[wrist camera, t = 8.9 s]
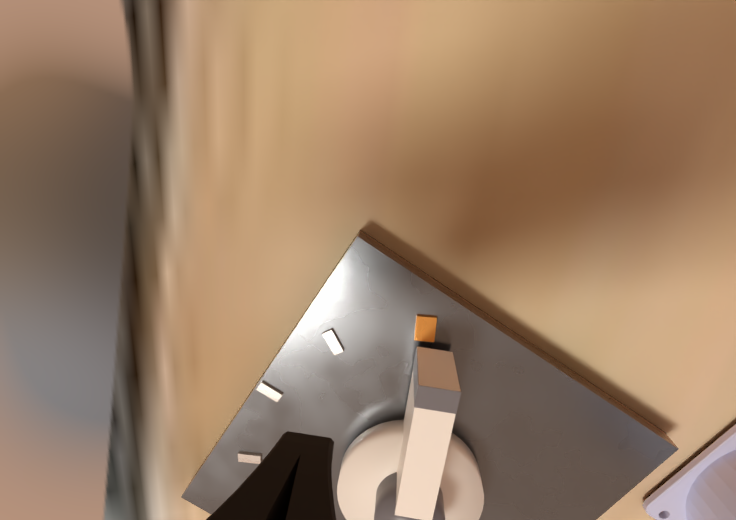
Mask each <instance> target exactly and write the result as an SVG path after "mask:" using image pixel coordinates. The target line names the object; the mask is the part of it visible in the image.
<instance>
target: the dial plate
mask: <svg viewBox="0 0 736 520" xmlns="http://www.w3.org/2000/svg"><path fill="white" fill-rule="evenodd" d="M417 346H418V347H424V348H431V349H437V350H444V351H450V352H453V354H454V359H455V364H456V369H457V374H458V379H459V383H460V388H461V396H460V400H459V405H458V409H457V414H456V415H455V420H454V424H453V429H452V433H453V434H455V435H456V436H457V437H459V438H460V439H461V440H462V441H463V442H464V443H465V444H466V445H467V446H468V447H469V449H470V450H471V452H472V453H473V455H474V457H475V459H476V461H477V464H478V467H479V472H480V476H481V481H482V486H483V492H484V505H483V511H482V513H481V516H480V518H479V520H596V519H598V518H599V517H600V516H601V515H602V514H603V513H605V512H606V511H607V510H608V509H609V508H610V507H612V506H613V505H614V504H615V503H616V502H617V501H619V500H620V499H621V498H622V497H623V496H624V495H625V494H627V493H628V492H629V491H630V490H631V489H632V488H634V487H635V486H636V485H637V484H638V483H639V482H641V481H642V480H643V479H644V478H645V477H646V476H648V475H649V474H650V473H651V472H652V471H653V470H655V469H656V468H657V467H658V466H659V465H660V464H662V463H663V462H664V461H665V460H666V459H667V458H669V457H670V456H671V455H672V454H673V453H674V452H676V451H677V450H678V448H677V446H676V445H675V444H674V443H673V442H672V440H671V439H670V438H669V437H668V436H667V435H666V433H665V432H664V431H662V430H661V429H659V428H658V427H656V426H655V425H653V424H652V423H650V422H649V421H647V420H646V419H644V418H643V417H641V416H640V415H638V414H637V413H635V412H634V411H632V410H631V409H629V408H628V407H626V406H625V405H623V404H622V403H620V402H619V401H617V400H616V399H614V398H613V397H611V396H610V395H608V394H607V393H605V392H604V391H602V390H601V389H599V388H598V387H596V386H595V385H593V384H592V383H590V382H589V381H587V380H586V379H584V378H583V377H581V376H580V375H578V374H577V373H575V372H574V371H572V370H571V369H569V368H567V367H566V366H564V365H563V364H561V363H560V362H558V361H557V360H555V359H554V358H552V357H551V356H549V355H548V354H546V353H545V352H543V351H542V350H540V349H539V348H537V347H536V346H534V345H533V344H531V343H530V342H528V341H527V340H525V339H524V338H522V337H521V336H519V335H518V334H516V333H515V332H513V331H512V330H510V329H509V328H507V327H506V326H504V325H503V324H501V323H500V322H498V321H497V320H495V319H494V318H492V317H491V316H489V315H488V314H486V313H485V312H483V311H482V310H480V309H479V308H477V307H476V306H474V305H473V304H471V303H470V302H468V301H467V300H465V299H464V298H462V297H461V296H459V295H458V294H456V293H454V292H453V291H451V290H450V289H448V288H447V287H445V286H444V285H442V284H441V283H439V282H438V281H436V280H435V279H433V278H432V277H430V276H429V275H427V274H426V273H424V272H423V271H421V270H420V269H418V268H417V267H415V266H414V265H412V264H411V263H409V262H408V261H406V260H405V259H403V258H402V257H400V256H399V255H397V254H396V253H394V252H393V251H391V250H390V249H388V248H387V247H385V246H384V245H382V244H381V243H379V242H378V241H376V240H375V239H373V238H372V237H370V236H369V235H367V234H366V233H364V232H363V231H361V230H360V231H359V233H358V234H357V236H356V237H355V239H354V240H353V242H352V243H351V244H350V246H349V247H348V249H347V250H346V252H345V253H344V255H343V256H342V258H341V259H340V261H339V262H338V264H337V265H336V267H335V268H334V270H333V271H332V273H331V274H330V276H329V277H328V279H327V280H326V282H325V283H324V285H323V286H322V287H321V289H320V290H319V292H318V293H317V295H316V296H315V298H314V299H313V301H312V302H311V304H310V305H309V307H308V308H307V310H306V311H305V313H304V314H303V316H302V317H301V319H300V320H299V322H298V323H297V325H296V326H295V328H294V329H293V330H292V332H291V333H290V335H289V336H288V338H287V339H286V341H285V342H284V344H283V345H282V347H281V348H280V350H279V351H278V353H277V354H276V356H275V357H274V359H273V360H272V362H271V363H270V365H269V366H268V368H267V369H266V371H265V372H264V373H263V375H262V376H261V378H260V379H259V381H258V382H257V384H256V385H255V387H254V388H253V390H252V391H251V393H250V394H249V396H248V397H247V399H246V400H245V402H244V403H243V405H242V406H241V408H240V409H239V411H238V412H237V413H236V415H235V416H234V418H233V419H232V421H231V422H230V424H229V425H228V427H227V428H226V430H225V431H224V433H223V434H222V436H221V437H220V439H219V440H218V442H217V443H216V445H215V446H214V448H213V449H212V451H211V452H210V454H209V455H208V456H207V458H206V459H205V461H204V462H203V464H202V465H201V467H200V468H199V470H198V471H197V473H196V474H195V476H194V477H193V479H192V480H191V482H190V483H189V485H188V487H187V488H186V490H185V492H184V493H183V495H182V498H184V499H185V500H187V501H189V502H191V503H192V504H194V505H196V506H198V507H199V508H201V509H203V510H205V511H206V512H208V513H210V514H213V513H214V512H215V511H216V510H217V509H218V508H219V507H220V506H221V505H222V504H223V503H224V502H225V501H226V500H227V499H228V498H229V497H230V496H231V495H232V494H233V493H234V492H235V491H236V490H237V489H238V488H239V487H240V485H241V484H242V483H243V482H244V481H245V480H246V479H247V478H248V477H249V475H250V474H251V473H252V472H253V471H254V470H255V469H256V468H257V467H258V465H259V464H260V463H261V462H262V461H263V459H264V458H265V457H266V456H267V455H268V453H269V452H270V451H271V450H272V448H273V447H274V446H275V444H276V443H277V442H278V441H279V439H280V438H281V436H282V435H283V434H284V433H285V432H287V431H290V432H296V433H303V434H309V435H316V436H322V437H329V438H331V439H332V440H333V441H334V449H333V458H332V468H331V469H332V489H333V498H334V507H335V514H336V520H346V519H345V517H344V515H343V513H342V511H341V509H340V506H339V503H338V497H337V485H338V479H339V474H340V469H341V464H342V460H343V457H344V454H345V452H346V450H347V449H348V447H349V446H350V444H351V443H352V442H353V441H354V440H355V439H356V438H357V437H358V436H359V435H360V434H362V433H363V432H364V431H366V430H368V429H369V428H371V427H373V426H376V425H378V424H381V423H384V422H389V421H394V420H404V417H405V411H406V405H407V400H408V394H409V389H410V383H411V377H412V372H413V363H414V358H415V352H416V347H417Z"/></svg>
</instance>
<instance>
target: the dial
mask: <svg viewBox="0 0 736 520" xmlns="http://www.w3.org/2000/svg"><path fill="white" fill-rule="evenodd" d="M460 396H461V388H460V383H459V379H458V374H457V369H456V364H455V359H454V354H453V352H450V351H444V350H437V349H431V348H424V347H418V346H417V347H416V352H415V358H414V363H413V372H412V377H411V383H410V389H409V394H408V400H407V405H406V411H405V417H404V420H394V421H389V422H384V423H381V424H378V425H376V426H373V427H371V428H369V429H368V430H366V431H364V432H363V433H362V434H360V435H359V436H358V437H357V438H356V439H355V440H354V441H353V442H352V443H351V444H350V446H349V447H348V449H347V450H346V452H345V454H344V457H343V460H342V464H341V469H340V474H339V479H338V485H337V497H338V503H339V506H340V509H341V511H342V513H343V515H344V517H345V519H346V520H479V518H480V516H481V513H482V511H483V505H484V492H483V486H482V481H481V476H480V472H479V467H478V464H477V461H476V459H475V457H474V455H473V453H472V452H471V450H470V449H469V447H468V446H467V445H466V444H465V443H464V442H463V441H462V440H461V439H460V438H459V437H457V436H456V435H455V434H453V433H452V429H453V424H454V420H455V415H456V414H457V409H458V405H459V400H460Z"/></svg>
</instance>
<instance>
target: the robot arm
mask: <svg viewBox="0 0 736 520" xmlns="http://www.w3.org/2000/svg"><path fill="white" fill-rule="evenodd" d="M333 449H334V441H333V440H332V439H331V438H329V437H322V436H316V435H309V434H303V433H296V432H290V431H287V432H285V433H284V434H283V435H282V436H281V438H280V439H279V441H278V442H277V443H276V444H275V446H274V447H273V448H272V450H271V451H270V452H269V453H268V455H267V456H266V457H265V458H264V459H263V461H262V462H261V463H260V464H259V465H258V467H257V468H256V469H255V470H254V471H253V472H252V473H251V474H250V475H249V477H248V478H247V479H246V480H245V481H244V482H243V483H242V484H241V485H240V487H239V488H238V489H237V490H236V491H235V492H234V493H233V494H232V495H231V496H230V497H229V498H228V499H227V500H226V501H225V502H224V503H223V504H222V505H221V506H220V507H219V508H218V509H217V510H216V511H215V512H214V513H213V514H212V515H211V516H209V517H208V518H207V519H206V520H336V514H335V507H334V498H333V489H332V469H331V468H332V458H333ZM643 508H644V509H645V511H646V513H647V514H648V515H649V516H651V517H653V518H654V519H656V520H736V424H735V425H734V426H733V427H731V428H730V429H729V430H728V431H727V432H725V433H724V434H723V435H722V436H721V437H719V438H718V439H717V440H716V441H715V442H713V443H712V444H711V445H710V446H709V447H707V448H706V449H705V450H704V451H703V452H701V453H700V454H699V455H698V456H697V457H696V458H694V459H693V460H692V461H691V462H690V463H688V464H687V465H686V466H685V467H684V468H682V469H681V470H680V471H679V472H678V473H676V474H675V475H674V476H673V477H672V478H670V479H669V480H668V481H667V482H666V483H664V484H663V485H662V486H661V487H660V488H658V489H657V490H656V491H655V492H654V493H653V494H651V495H650V496H649V497H648V498H647V499H645V501H644V502H643Z"/></svg>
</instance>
